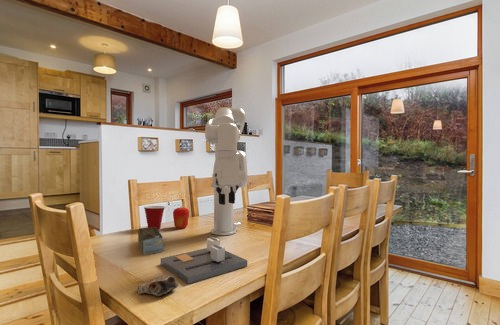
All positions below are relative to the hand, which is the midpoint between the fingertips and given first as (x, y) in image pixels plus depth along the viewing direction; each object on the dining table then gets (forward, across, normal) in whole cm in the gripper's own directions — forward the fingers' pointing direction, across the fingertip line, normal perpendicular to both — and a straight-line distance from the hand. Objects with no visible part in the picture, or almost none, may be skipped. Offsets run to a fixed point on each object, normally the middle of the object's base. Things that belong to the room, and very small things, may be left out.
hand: (226, 203), depth 107 cm
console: (+19, +13, +5) cm, 24 cm away
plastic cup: (+19, +7, -55) cm, 59 cm away
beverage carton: (+20, +20, -27) cm, 39 cm away
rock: (+20, +32, +14) cm, 40 cm away
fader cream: (+17, +6, 0) cm, 18 cm away
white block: (+17, +10, +9) cm, 22 cm away
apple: (+19, -5, -49) cm, 53 cm away
